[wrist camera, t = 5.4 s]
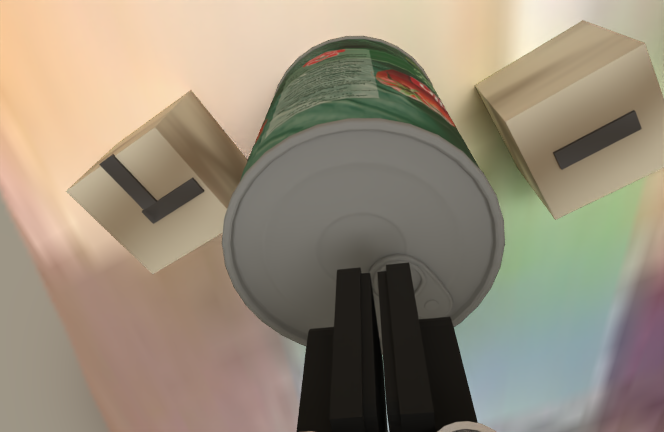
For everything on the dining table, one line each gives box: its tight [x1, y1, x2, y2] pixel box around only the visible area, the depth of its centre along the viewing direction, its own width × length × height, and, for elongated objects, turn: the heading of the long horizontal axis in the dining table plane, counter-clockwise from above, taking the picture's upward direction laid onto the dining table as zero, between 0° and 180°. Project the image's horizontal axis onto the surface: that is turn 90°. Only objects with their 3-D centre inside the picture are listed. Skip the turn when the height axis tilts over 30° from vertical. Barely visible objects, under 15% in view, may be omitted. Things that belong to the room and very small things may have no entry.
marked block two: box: [66, 90, 248, 274], centre depth 22 cm, size 5×5×5 cm
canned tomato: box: [222, 36, 505, 354], centre depth 18 cm, size 8×8×11 cm
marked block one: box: [475, 20, 664, 220], centre depth 20 cm, size 5×5×5 cm
